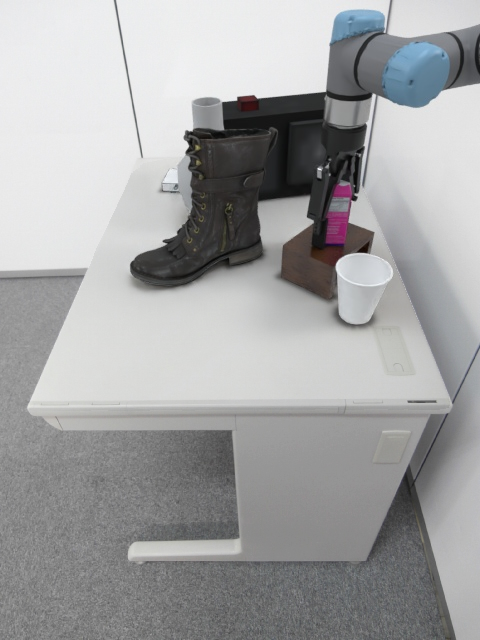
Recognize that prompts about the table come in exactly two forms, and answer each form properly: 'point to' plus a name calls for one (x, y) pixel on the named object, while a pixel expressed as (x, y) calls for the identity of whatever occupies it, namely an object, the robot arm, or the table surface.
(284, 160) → the speaker
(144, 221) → the table surface
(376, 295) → the cup
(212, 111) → the vase
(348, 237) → the brown wooden box
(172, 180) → the container
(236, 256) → the boot
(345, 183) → the supplement box
